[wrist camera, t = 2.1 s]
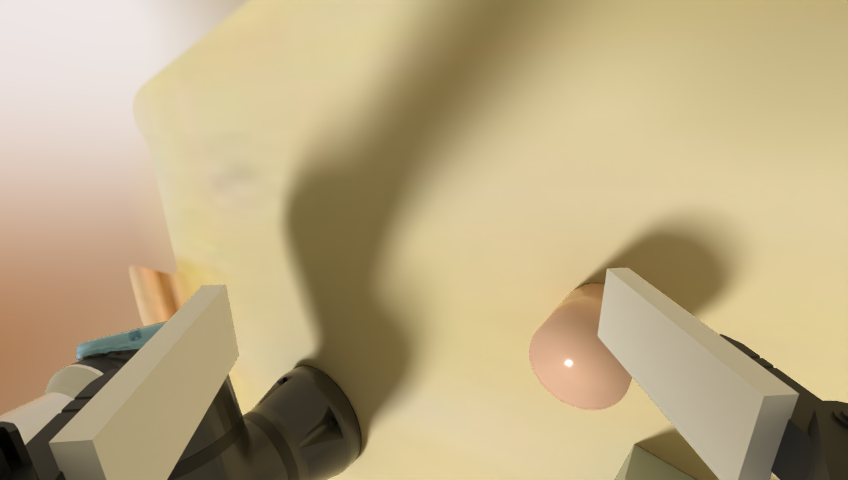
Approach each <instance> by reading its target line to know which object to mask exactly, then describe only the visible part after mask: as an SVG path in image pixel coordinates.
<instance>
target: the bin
mask: <svg viewBox="0 0 848 480" xmlns="http://www.w3.org/2000/svg"><path fill="white" fill-rule="evenodd" d="M615 480H695V479H694V478H692V477H690V476H688V475H687V474H685V473H683V472H682V471H680V470H678V469H676V468H675V467H673V466H671V465H670V464H668V463H666V462H664V461H663V460H661V459H659V458H657V457H656V456H654V455H652V454H651V453H649V452H647V451H645V450H644V449H642V448H640V447H639V446H637V445H635V444H634V446H633V448H632V450H631V451H630V453H629V455H628V457H627V459H626V460H625V462H624V464H623V466H622V468H621V469H620V471H619V473H618V475H617V477H616V478H615Z"/></svg>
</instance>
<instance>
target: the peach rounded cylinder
mask: <svg viewBox="0 0 848 480" xmlns="http://www.w3.org/2000/svg"><path fill="white" fill-rule="evenodd" d="M604 286H605V284H602V283H592V284H586V285H583V286H580V287H578V288H576V289H574V290H573V291H572V292H571V293H570V294H569V295H568V296H567V297H566V298H565V299H564V300H563V302H562V303H561V304H560V305H559V306H558V307H557V308H556V310H555V311H554V312H553V313H552V314H551V315H550V316H549V318H548V319H547V320H546V321H545V322H544V323H543V324H542V326H541V327H540V328H539V329H538V330H537V331H536V333H535V334H534V336H533V338H532V340H531V343H530V349H529V357H530V362H531V366H532V369H533V371H534V373H535V375H536V377H537V379H538V380H539V381H540V383H541V384H542V385H543V386H544V388H545V389H546V390H547V391H548V392H550V393H551V394H552V395H553V396H555V397H556V398H557V399H559V400H561V401H562V402H564V403H566V404H568V405H571V406H573V407H577V408H581V409H586V410H599V409H604V408H607V407H610V406H612V405H614V404H616V403H617V402H619V401H620V400H621V399H622V398H623V397H624V395H625V394H626V392H627V390H628V388H629V385H630V382H631V379H632V376H631V375H630V374H629V373H628V371H627V370H626V369H625V368H624V367H623V366H622V364H621V363H620V362H619V361H618V360H617V358H616V357H615V356H614V355H613V354H612V353H611V351H610V350H609V349H608V348H607V347H606V346H605V344H604V343H603V342H602V341H601V340H600V338H599V337H598V336H597V335H598V328H599V321H600V314H601V307H602V300H603V293H604Z"/></svg>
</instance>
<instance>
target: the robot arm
mask: <svg viewBox="0 0 848 480" xmlns="http://www.w3.org/2000/svg"><path fill="white" fill-rule="evenodd" d="M597 336H598V337H599V338H600V340H601V341H602V342H603V343H604V344H605V346H606V347H607V348H608V349H609V350H610V351H611V353H612V354H613V355H614V356H615V357H616V358H617V360H618V361H619V362H620V363H621V364H622V366H623V367H624V368H625V369H626V370H627V371H628V373H629V374H630V375H631V376H632V377H633V379H634V380H635V381H636V382H637V383H638V384H639V386H640V387H641V388H642V389H643V390H644V391H645V393H646V394H647V395H648V396H649V397H650V399H651V400H652V401H653V402H654V403H655V404H656V406H657V407H658V408H659V409H660V410H661V412H662V413H663V414H664V415H665V416H666V417H667V419H668V420H669V421H670V422H671V423H672V424H673V426H674V427H675V428H676V429H677V430H678V432H679V433H680V434H681V435H682V436H683V437H684V439H685V440H686V441H687V442H688V443H689V445H690V446H691V447H692V448H693V449H694V450H695V452H696V453H697V454H698V455H699V456H700V457H701V459H702V460H703V461H704V462H705V463H706V465H707V466H708V467H709V468H710V469H711V470H712V472H713V473H714V474H715V475H716V476H717V478H718V479H719V480H769V479H770V477H771V474H772V472H773V473H774V474H775V475H776V476H777V477H778V478H779V479H780V480H848V403H844V402H839V401H822V400H821V399H819V398H818V397H816V396H815V395H814V394H812V393H811V392H809V391H808V390H807V389H805V388H804V387H802V386H801V385H800V384H798V383H797V382H795V381H794V380H793V379H791V378H790V377H788V376H787V375H786V374H784V373H783V372H781V371H780V370H779V369H777V368H773V365H772V364H770V363H769V362H767V361H766V360H765V359H763V358H760V356H759V355H758V354H756V353H755V352H753V351H752V350H751V349H749V348H748V347H746V346H745V345H744V344H742V343H740V342H737V341H735V340H733V339H731V338H729V337H727V336H724V335H722V334H720V335H719V334H717V333H716V332H715V331H713V330H712V329H711V328H709V327H708V326H707V325H705V324H704V323H702V322H701V321H700V320H698V319H697V318H696V317H694V316H693V315H692V314H690V313H689V312H688V311H686V310H685V309H683V308H682V307H681V306H679V305H678V304H677V303H675V302H674V301H673V300H671V299H670V298H669V297H667V296H666V295H664V294H663V293H662V292H660V291H659V290H658V289H656V288H655V287H654V286H652V285H651V284H650V283H648V282H647V281H646V280H644V279H643V278H641V277H640V276H639V275H637V274H636V273H635V272H633V271H632V270H631V269H629V268H628V267H627V268H607V272H606V279H605V286H604V293H603V300H602V307H601V314H600V321H599V328H598V335H597ZM76 355H77V356H76V358H77V359H78V360H79V362H76V363H74V364H71V365H69V366H67V367H64V368H63V369H61V370H59V371H58V372H56V373H55V374H54V375H53V377H52V378H51V380H50V382H49V383H48V386H47V388H46V391H45V393H44V395H43V396H41V397H39V398H37V399H35V400H32V401H30V402H28V403H26V404H24V405H21V406H20V407H17V408H15V409H13V410H10V411H8V412H6V413H4V414H2V415H0V480H327V479H329V478H331V477H333V476H336V475H338V474H340V473H342V472H343V471H344V470H345V469H346V468H347V467H349V466H350V465H351V464H352V463H353V462H354V461H355V460H356V459H357V457H358V455H359V452H360V446H361V437H360V430H359V426H358V422H357V419H356V416H355V414H354V412H353V409H352V407H351V405H350V403H349V402H348V400H347V398H346V397H345V395H344V394H343V392H342V391H341V390H340V389H339V387H338V386H337V385H336V384H335V383H334V382H333V381H332V380H331V379H330V378H329V377H328V376H326V375H325V374H324V373H322V372H321V371H319V370H317V369H315V368H313V367H309V366H299V367H296V368H295V369H293V370H291V371H290V372H288V373H286V374H285V375H283V376H282V377H281V378H280V379H279V380H278V381H277V382H276V383H275V384H274V386H273V387H272V388H271V389H270V390H269V391H268V392H267V393H266V395H265V396H264V397H263V398H262V399H261V400H260V401H259V403H258V404H257V405H256V406H255V407H254V408H253V409H252V410H251V411H249V412H248V413H246V414H245V415H243V416H242V413H241V410H240V407H239V404H238V401H237V398H236V395H235V392H234V389H233V386H232V383H231V380H230V377H229V372H230V370H231V368H232V367H233V365H234V363H235V361H236V360H237V358H238V356H239V352H238V346H237V341H236V336H235V330H234V325H233V320H232V314H231V309H230V304H229V299H228V293H227V288H226V285H209V286H202V287H201V288H200V289H199V290H198V291H197V292H196V293H195V294H194V295H193V296H192V297H191V298H190V299H189V300H188V301H187V302H186V303H185V304H184V305H183V306H182V307H181V308H180V309H179V310H178V311H177V312H176V313H175V314H174V315H173V316H172V317H171V318H170V319H169V320H168V321H165V322H161V323H157V324H153V325H149V326H145V327H141V328H137V329H133V330H129V331H125V332H121V333H117V334H113V335H109V336H105V337H101V338H97V339H93V340H90V341H86V342H82V343H80V344H79V345H78V346H77V354H76Z"/></svg>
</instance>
